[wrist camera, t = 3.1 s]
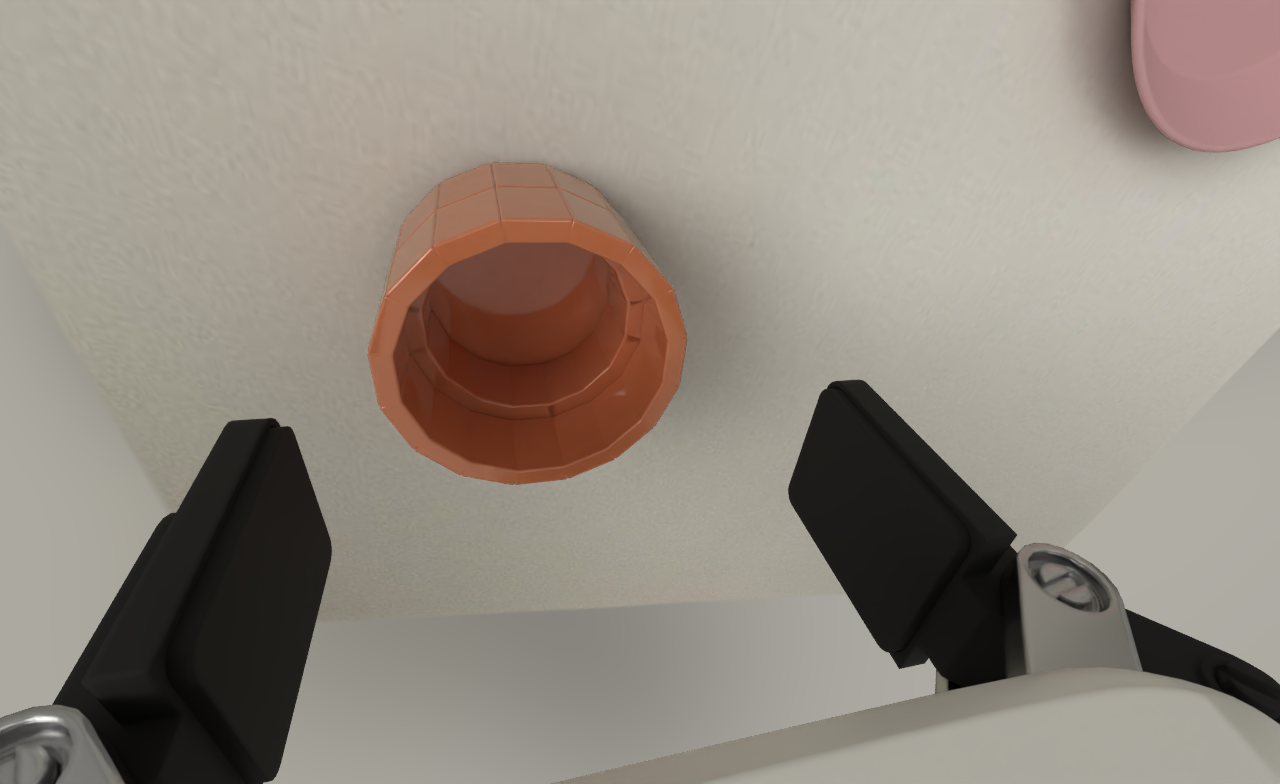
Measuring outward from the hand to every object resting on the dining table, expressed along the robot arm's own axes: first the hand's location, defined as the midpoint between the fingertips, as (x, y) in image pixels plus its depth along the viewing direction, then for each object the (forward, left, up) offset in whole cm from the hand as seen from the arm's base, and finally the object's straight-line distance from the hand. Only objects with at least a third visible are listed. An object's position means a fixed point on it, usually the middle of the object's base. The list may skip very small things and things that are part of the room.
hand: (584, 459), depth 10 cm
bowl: (0, 0, -8) cm, 8 cm away
